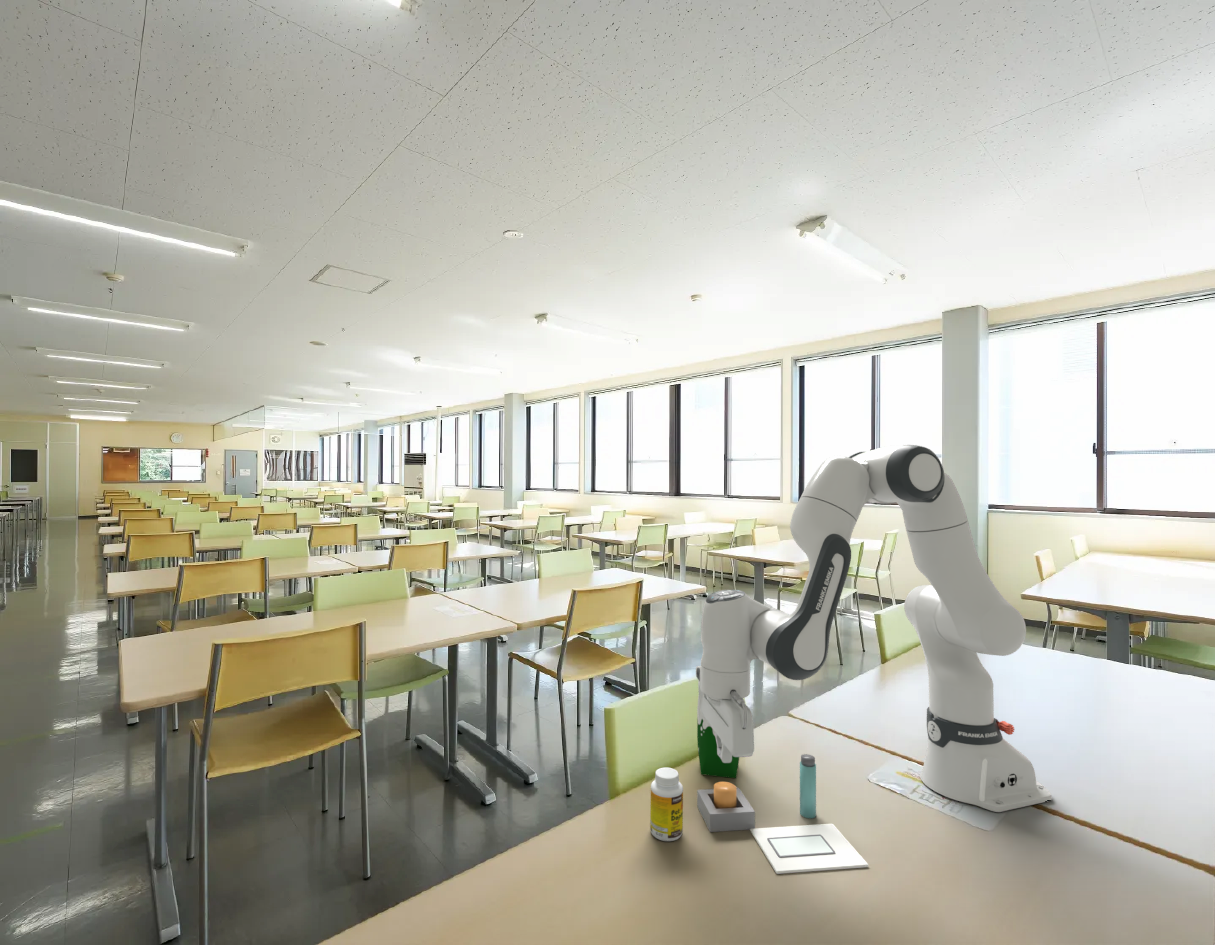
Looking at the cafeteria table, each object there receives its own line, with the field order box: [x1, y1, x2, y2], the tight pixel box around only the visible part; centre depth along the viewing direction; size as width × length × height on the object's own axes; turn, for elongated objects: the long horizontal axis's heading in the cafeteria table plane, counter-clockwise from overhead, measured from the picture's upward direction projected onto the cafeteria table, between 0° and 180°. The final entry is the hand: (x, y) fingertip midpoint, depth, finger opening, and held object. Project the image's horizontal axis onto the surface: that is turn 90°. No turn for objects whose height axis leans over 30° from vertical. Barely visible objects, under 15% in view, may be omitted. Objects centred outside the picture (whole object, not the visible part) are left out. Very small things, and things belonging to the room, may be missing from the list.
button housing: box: [696, 787, 756, 833], centre depth 103 cm, size 8×8×3 cm
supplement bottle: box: [649, 766, 684, 842], centre depth 98 cm, size 6×6×10 cm
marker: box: [799, 753, 817, 819], centre depth 104 cm, size 3×3×10 cm
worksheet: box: [749, 823, 869, 875], centre depth 94 cm, size 15×11×1 cm
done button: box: [713, 781, 738, 809], centre depth 103 cm, size 4×4×3 cm
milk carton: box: [696, 695, 740, 779], centre depth 121 cm, size 9×9×20 cm
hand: (724, 759), depth 103 cm, fingers closed
